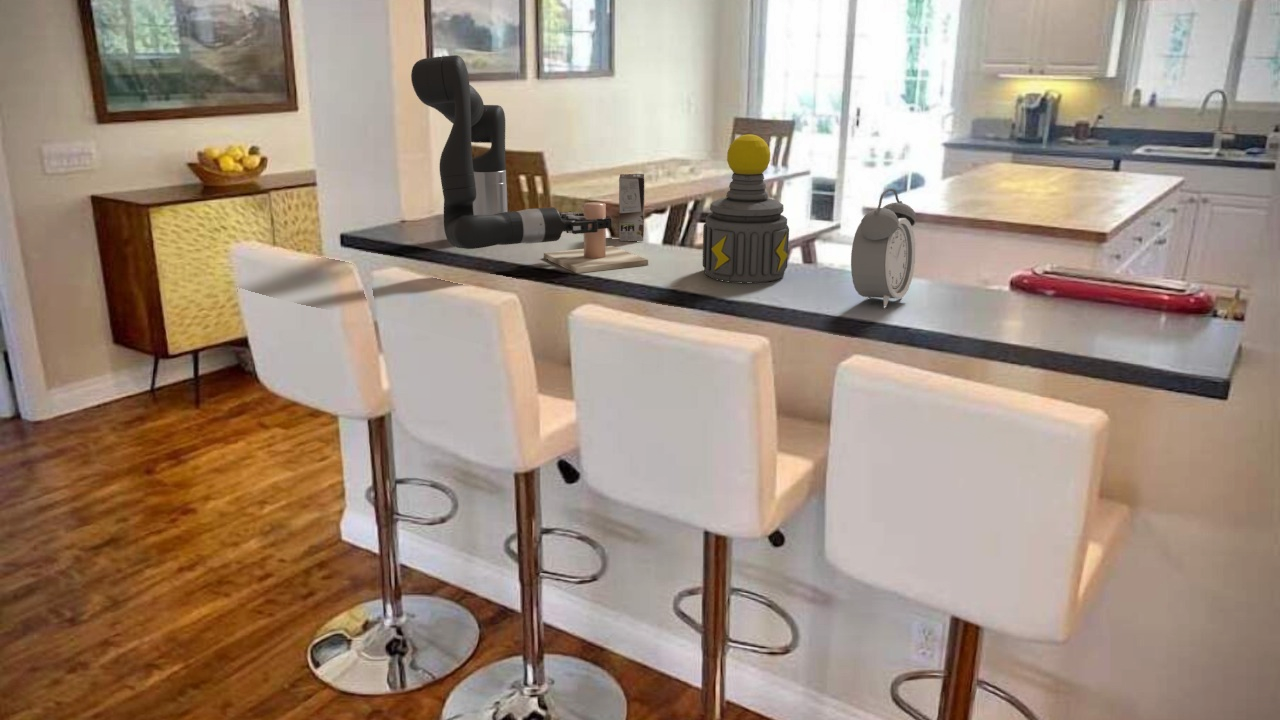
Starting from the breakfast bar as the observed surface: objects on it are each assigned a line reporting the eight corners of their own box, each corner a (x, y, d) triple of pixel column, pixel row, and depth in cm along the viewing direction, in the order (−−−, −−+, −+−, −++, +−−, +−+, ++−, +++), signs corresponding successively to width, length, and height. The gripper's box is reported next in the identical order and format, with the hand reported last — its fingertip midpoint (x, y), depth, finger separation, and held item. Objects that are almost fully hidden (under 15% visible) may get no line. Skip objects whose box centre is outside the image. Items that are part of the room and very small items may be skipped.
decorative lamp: (803, 273, 210) (811, 133, 201) (757, 289, 196) (763, 140, 187) (732, 261, 222) (737, 128, 212) (683, 275, 208) (686, 134, 198)
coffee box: (643, 241, 244) (644, 177, 239) (618, 241, 244) (618, 177, 239) (644, 234, 252) (644, 173, 247) (620, 234, 252) (620, 173, 247)
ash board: (543, 257, 224) (543, 252, 224) (611, 250, 233) (611, 245, 232) (576, 273, 209) (576, 267, 209) (648, 264, 218) (648, 259, 217)
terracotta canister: (580, 255, 221) (580, 203, 218) (599, 253, 224) (599, 201, 220) (589, 258, 217) (589, 205, 214) (609, 257, 220) (609, 204, 216)
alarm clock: (886, 314, 178) (897, 196, 171) (842, 307, 183) (851, 192, 176) (915, 296, 191) (926, 185, 184) (874, 290, 196) (882, 182, 189)
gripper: (549, 213, 204) (616, 207, 212) (523, 204, 216) (588, 199, 224) (550, 248, 207) (616, 241, 214) (524, 237, 218) (588, 231, 226)
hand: (602, 219), depth 219 cm, fingers open, 8 cm apart
